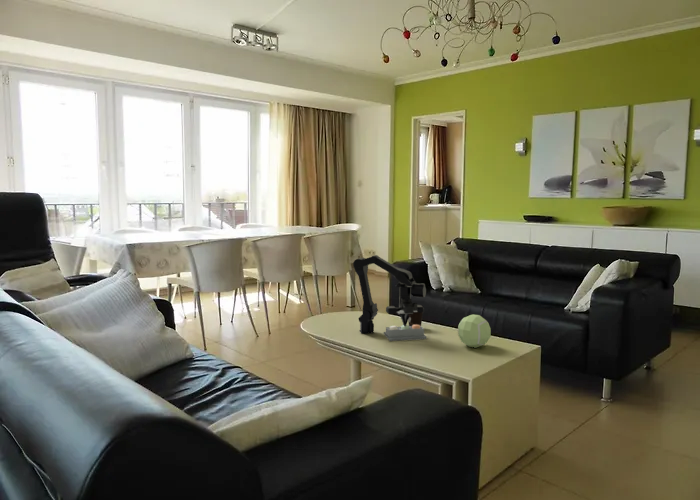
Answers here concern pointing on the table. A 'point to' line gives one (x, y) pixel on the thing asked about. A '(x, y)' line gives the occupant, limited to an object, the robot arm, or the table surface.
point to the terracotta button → (416, 326)
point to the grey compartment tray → (405, 334)
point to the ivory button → (393, 327)
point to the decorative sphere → (474, 331)
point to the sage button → (404, 327)
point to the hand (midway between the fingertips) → (404, 326)
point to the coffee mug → (415, 319)
